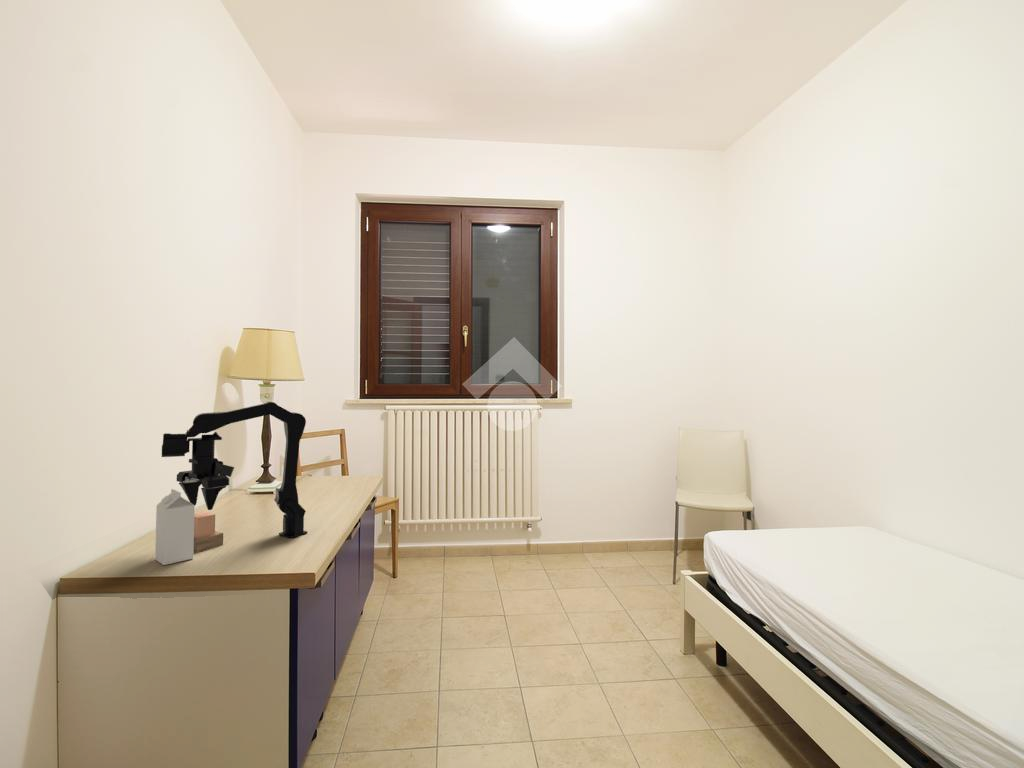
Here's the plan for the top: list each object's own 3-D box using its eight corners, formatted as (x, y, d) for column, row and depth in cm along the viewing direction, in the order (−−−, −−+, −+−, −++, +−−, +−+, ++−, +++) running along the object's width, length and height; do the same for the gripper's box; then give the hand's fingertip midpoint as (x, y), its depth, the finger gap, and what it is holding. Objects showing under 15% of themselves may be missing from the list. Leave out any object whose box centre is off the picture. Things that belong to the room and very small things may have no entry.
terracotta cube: (214, 534, 150) (215, 514, 150) (196, 538, 145) (197, 517, 146) (206, 531, 152) (206, 511, 152) (188, 535, 148) (189, 515, 148)
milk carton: (184, 553, 143) (185, 487, 143) (193, 559, 139) (195, 490, 139) (154, 559, 138) (156, 490, 138) (163, 566, 133) (165, 494, 133)
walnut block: (222, 546, 151) (223, 532, 151) (197, 553, 144) (197, 539, 144) (205, 542, 155) (205, 529, 155) (179, 549, 147) (179, 536, 147)
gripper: (247, 455, 151) (246, 506, 151) (214, 450, 161) (212, 498, 161) (209, 459, 142) (207, 514, 142) (176, 453, 152) (174, 505, 152)
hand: (201, 507), depth 149 cm, fingers open, 9 cm apart
